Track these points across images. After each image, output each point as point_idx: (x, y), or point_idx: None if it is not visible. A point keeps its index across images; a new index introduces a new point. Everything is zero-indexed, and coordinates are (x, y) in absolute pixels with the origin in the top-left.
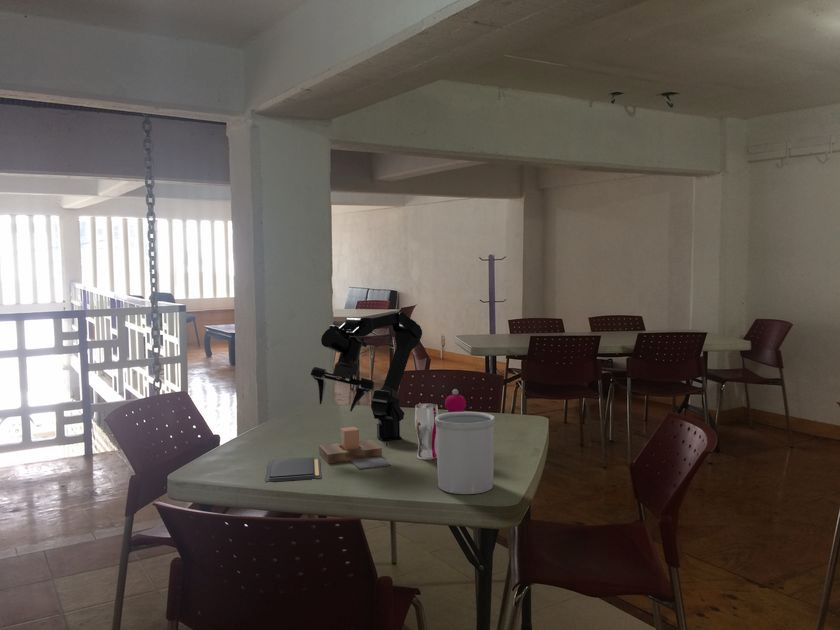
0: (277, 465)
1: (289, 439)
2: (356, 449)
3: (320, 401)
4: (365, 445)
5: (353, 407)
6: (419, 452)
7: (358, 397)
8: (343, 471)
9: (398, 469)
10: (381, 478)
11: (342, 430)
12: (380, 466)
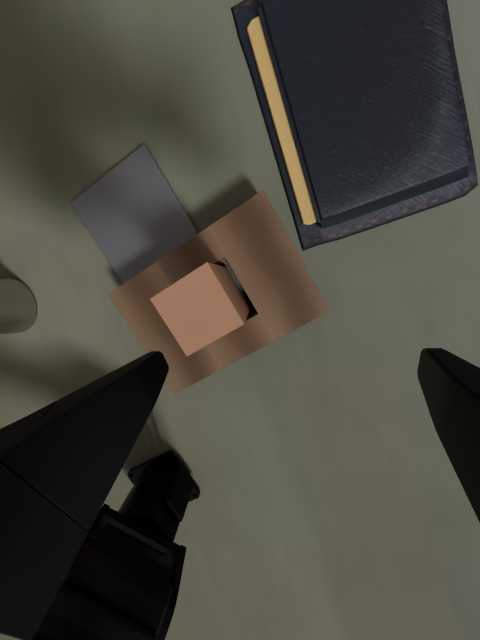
0: (431, 81)
1: None
2: (182, 270)
3: (449, 358)
4: None
5: (126, 369)
6: (5, 286)
7: (7, 428)
8: (187, 117)
9: (40, 168)
10: (53, 59)
11: (224, 290)
12: (95, 185)
